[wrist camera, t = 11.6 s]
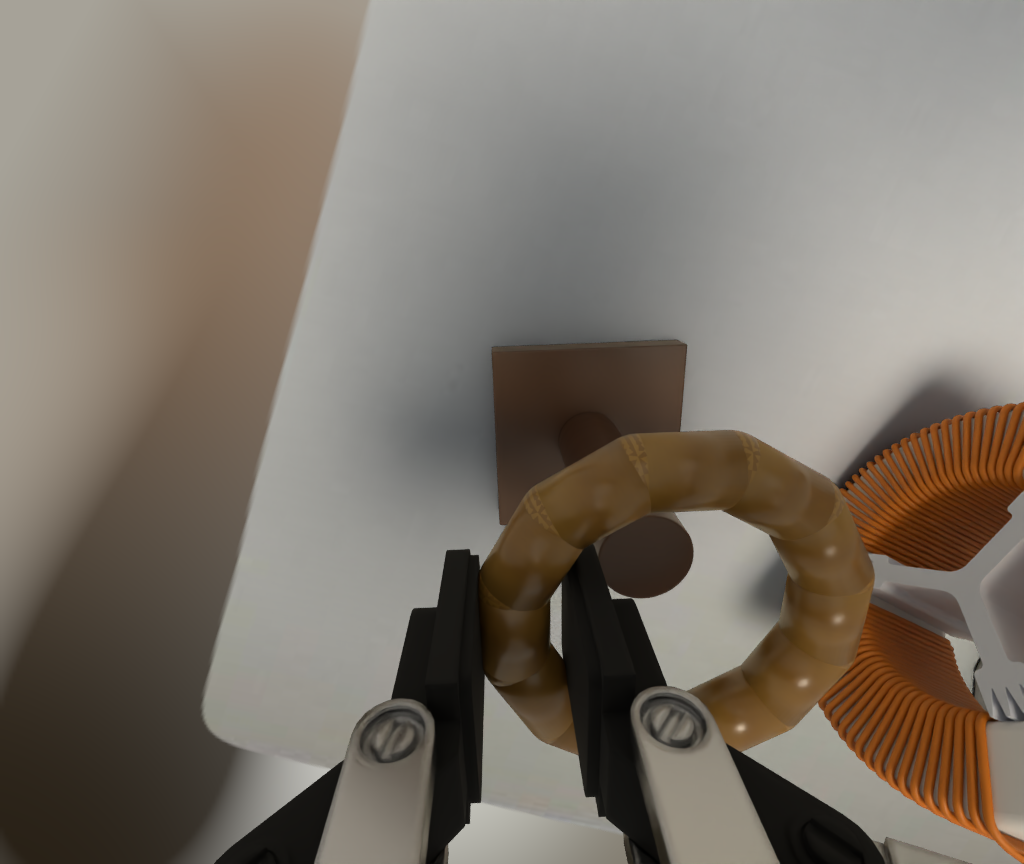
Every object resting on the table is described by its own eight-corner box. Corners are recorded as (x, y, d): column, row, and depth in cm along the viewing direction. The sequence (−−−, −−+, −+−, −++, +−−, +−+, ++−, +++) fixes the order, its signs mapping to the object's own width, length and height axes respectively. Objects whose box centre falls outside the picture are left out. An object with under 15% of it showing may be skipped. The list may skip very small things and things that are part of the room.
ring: (469, 429, 11) (465, 458, 9) (873, 413, 11) (934, 440, 9) (486, 734, 14) (486, 794, 12) (805, 717, 14) (844, 774, 12)
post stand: (491, 346, 22) (489, 424, 12) (678, 339, 22) (819, 410, 12) (499, 512, 25) (502, 682, 15) (665, 505, 25) (773, 668, 15)
